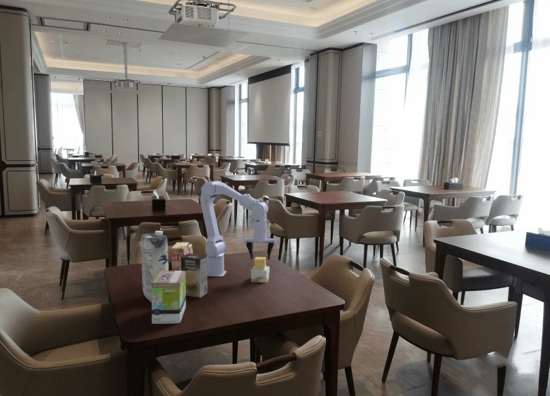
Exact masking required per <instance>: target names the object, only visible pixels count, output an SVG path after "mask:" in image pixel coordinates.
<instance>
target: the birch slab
mask: <svg viewBox="0 0 550 396" xmlns="http://www.w3.org/2000/svg"><path fill="white" fill-rule="evenodd" d="M269 279H270V273H269V274H268V276H267V277H252V276H251V283H268V282H269Z"/></svg>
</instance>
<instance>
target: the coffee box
mask: <svg viewBox="0 0 550 396" xmlns="http://www.w3.org/2000/svg"><path fill="white" fill-rule="evenodd" d="M207 256H208V255H207V254H206V255H204V254H197V253H193V254H189V253H188V254H186V255H184V256H182V257H181V271H185V278H186V297H191V298H192V297H194V298H202V297H203V296H205V295H206V294H208V276H207Z"/></svg>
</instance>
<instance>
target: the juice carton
mask: <svg viewBox="0 0 550 396" xmlns="http://www.w3.org/2000/svg"><path fill="white" fill-rule="evenodd" d="M163 233H164V231H162V230H155V231H154V232H153V233H152V232H149V233H141V235H140V238H141V239H140V252H141V253H140V256H141V259H140V260H141V278H142V279H141V281H142V282H141V284H142V291H143V295H144V297H145V298H146V299H147V300H148V301H149V302H150V303H152V282H153V280H154V279H155V277H156V276H157V274H158V273H159V271H170V270H169V268H170V267H169V248H168V247H169V246H168V236H167V235H164V234H163Z"/></svg>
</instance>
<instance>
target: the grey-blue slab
mask: <svg viewBox="0 0 550 396" xmlns="http://www.w3.org/2000/svg"><path fill="white" fill-rule="evenodd" d="M270 269H271V268H270V266H267V265H266V268H265V270H260V269H255V265H254V266H253V267H252V268H251V269H250V277H251V278H252V277H267V276H268V274H269V275H270Z"/></svg>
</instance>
